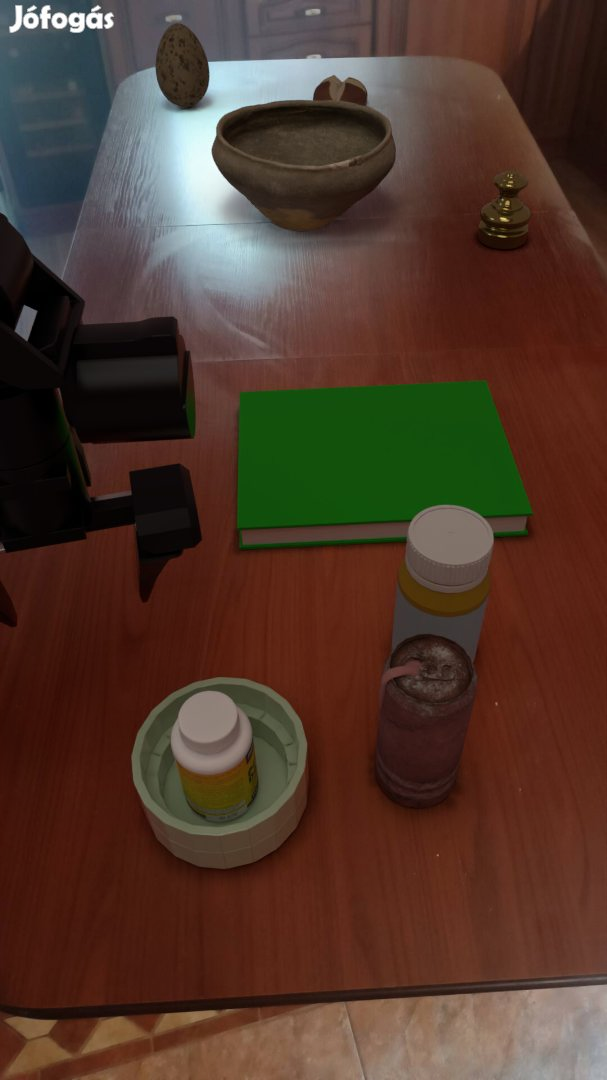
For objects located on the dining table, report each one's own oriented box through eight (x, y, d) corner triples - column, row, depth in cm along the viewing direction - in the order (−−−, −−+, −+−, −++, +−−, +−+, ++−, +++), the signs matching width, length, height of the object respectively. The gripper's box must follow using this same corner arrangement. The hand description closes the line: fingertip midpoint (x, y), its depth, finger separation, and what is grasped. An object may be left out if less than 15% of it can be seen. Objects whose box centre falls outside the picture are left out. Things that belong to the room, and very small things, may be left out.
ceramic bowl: (154, 890, 55) (139, 854, 51) (139, 737, 64) (125, 695, 59) (325, 849, 57) (325, 811, 53) (289, 706, 65) (286, 663, 61)
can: (358, 754, 62) (364, 645, 52) (432, 727, 64) (451, 617, 54) (392, 824, 58) (404, 721, 48) (469, 794, 60) (497, 689, 50)
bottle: (483, 639, 70) (511, 516, 59) (459, 702, 65) (484, 581, 54) (407, 614, 72) (420, 490, 61) (378, 673, 67) (388, 552, 57)
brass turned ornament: (502, 255, 118) (513, 187, 111) (466, 237, 123) (475, 170, 115) (536, 241, 121) (549, 173, 114) (500, 224, 125) (511, 158, 118)
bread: (307, 112, 163) (306, 85, 159) (324, 94, 170) (323, 68, 167) (360, 117, 160) (360, 90, 156) (374, 99, 168) (375, 72, 164)
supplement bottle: (266, 815, 58) (256, 743, 51) (190, 833, 57) (169, 762, 50) (252, 748, 62) (242, 672, 55) (180, 764, 61) (160, 689, 54)
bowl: (184, 215, 130) (172, 123, 120) (310, 168, 143) (309, 81, 133) (298, 276, 115) (295, 176, 105) (428, 217, 128) (436, 123, 118)
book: (527, 535, 78) (533, 513, 76) (239, 549, 78) (237, 527, 76) (481, 399, 94) (485, 377, 92) (241, 410, 93) (239, 389, 91)
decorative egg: (184, 119, 162) (173, 34, 151) (150, 108, 167) (137, 24, 156) (223, 105, 167) (215, 22, 156) (189, 94, 172) (179, 13, 161)
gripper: (165, 342, 53) (194, 511, 64) (-130, 384, 50) (-46, 553, 62) (186, 445, 45) (215, 617, 57) (-160, 501, 43) (-59, 670, 54)
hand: (80, 609), depth 57 cm, fingers open, 9 cm apart
